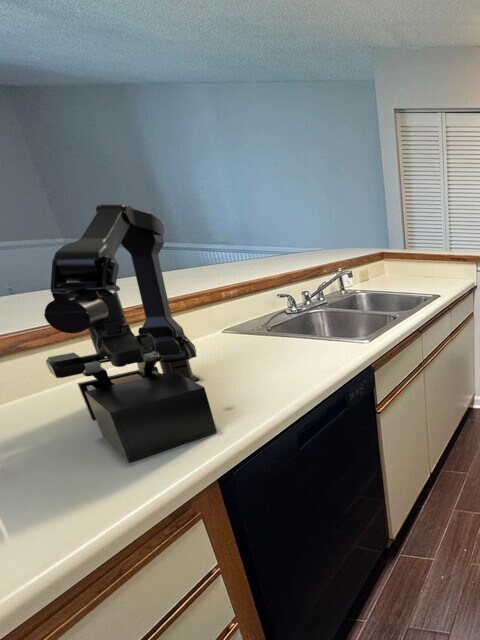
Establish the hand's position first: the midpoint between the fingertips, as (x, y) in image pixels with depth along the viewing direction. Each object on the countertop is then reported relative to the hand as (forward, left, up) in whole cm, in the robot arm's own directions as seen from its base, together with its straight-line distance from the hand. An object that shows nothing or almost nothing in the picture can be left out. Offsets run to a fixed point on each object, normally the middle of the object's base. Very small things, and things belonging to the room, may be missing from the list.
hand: (132, 395), depth 85 cm
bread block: (0, 0, -1) cm, 1 cm away
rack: (+1, 0, -4) cm, 5 cm away
